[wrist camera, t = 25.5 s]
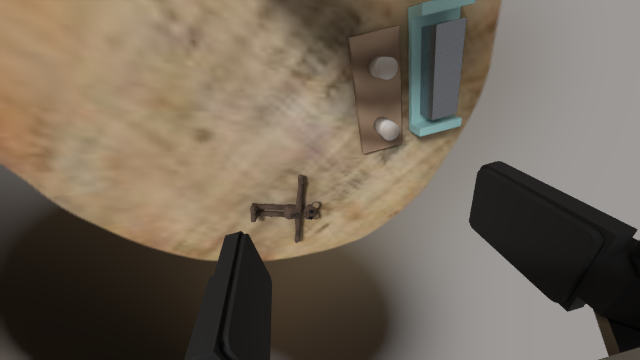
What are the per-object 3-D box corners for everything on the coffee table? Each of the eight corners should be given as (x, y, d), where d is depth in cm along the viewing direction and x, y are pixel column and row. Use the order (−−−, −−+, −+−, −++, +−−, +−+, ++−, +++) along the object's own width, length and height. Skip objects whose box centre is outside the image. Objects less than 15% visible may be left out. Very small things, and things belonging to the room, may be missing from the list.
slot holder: (408, 7, 35) (422, 3, 32) (457, -5, 35) (476, -11, 32) (408, 130, 45) (419, 136, 42) (447, 120, 46) (460, 125, 42)
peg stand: (347, 37, 36) (358, 36, 31) (396, 25, 36) (414, 22, 31) (361, 151, 46) (371, 163, 41) (399, 141, 46) (413, 152, 42)
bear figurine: (247, 178, 42) (325, 182, 44) (252, 167, 46) (323, 172, 47) (251, 249, 51) (316, 250, 52) (255, 235, 54) (316, 237, 56)
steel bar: (421, 27, 36) (436, 24, 32) (448, 20, 36) (466, 17, 33) (419, 114, 43) (432, 119, 40) (442, 108, 43) (456, 113, 40)
